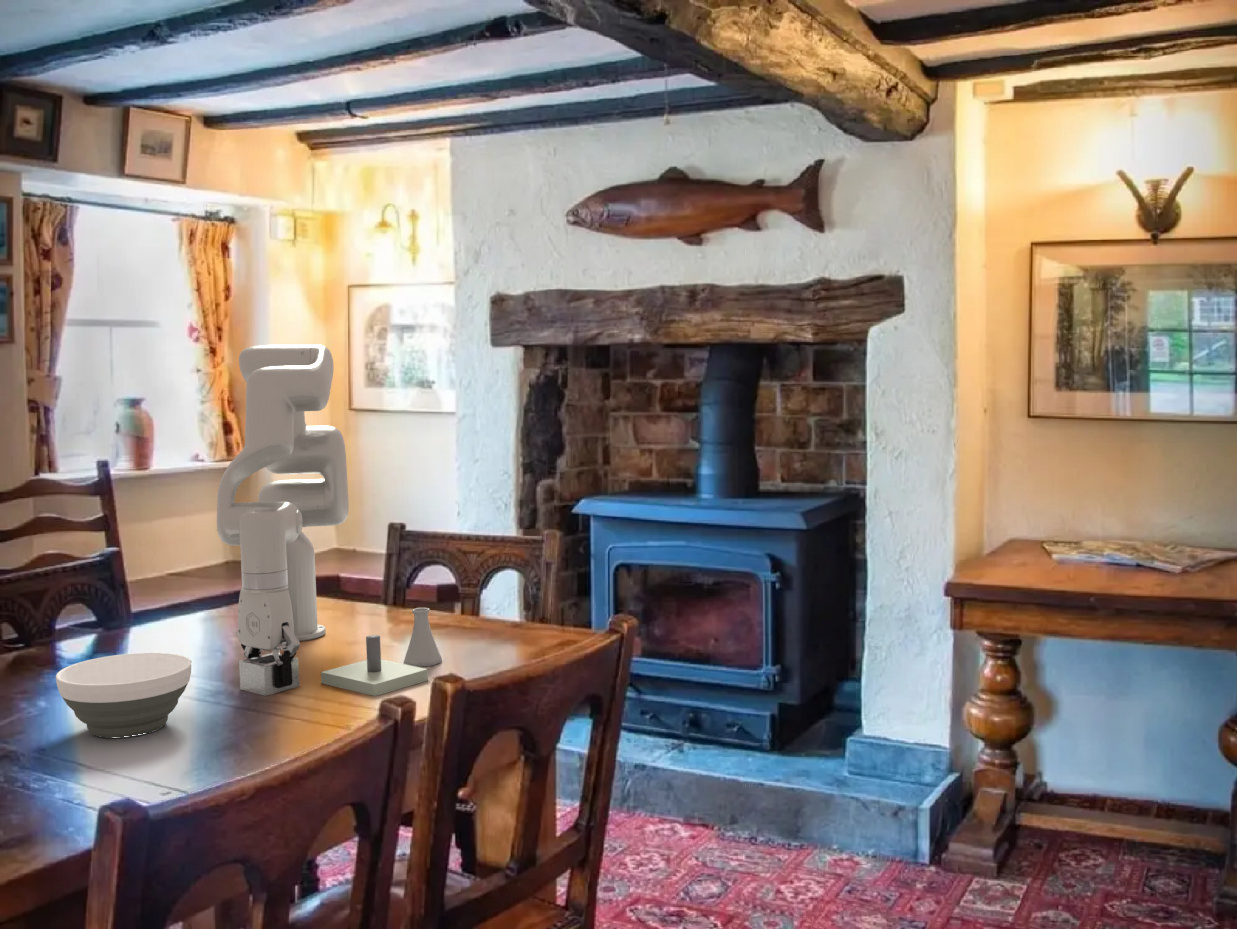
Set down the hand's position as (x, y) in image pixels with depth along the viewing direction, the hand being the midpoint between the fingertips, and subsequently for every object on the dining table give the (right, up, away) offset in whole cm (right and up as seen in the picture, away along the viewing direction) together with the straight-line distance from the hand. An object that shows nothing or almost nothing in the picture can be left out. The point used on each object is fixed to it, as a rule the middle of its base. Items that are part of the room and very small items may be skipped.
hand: (269, 682), depth 219 cm
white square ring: (0, -1, 0) cm, 1 cm away
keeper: (+18, 0, +3) cm, 18 cm away
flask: (+24, +1, +15) cm, 28 cm away
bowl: (-16, -4, -21) cm, 27 cm away
